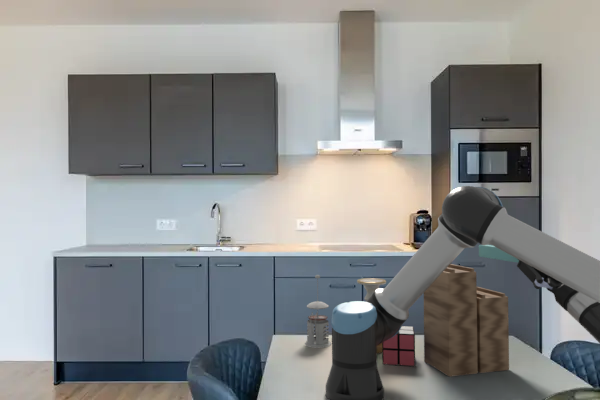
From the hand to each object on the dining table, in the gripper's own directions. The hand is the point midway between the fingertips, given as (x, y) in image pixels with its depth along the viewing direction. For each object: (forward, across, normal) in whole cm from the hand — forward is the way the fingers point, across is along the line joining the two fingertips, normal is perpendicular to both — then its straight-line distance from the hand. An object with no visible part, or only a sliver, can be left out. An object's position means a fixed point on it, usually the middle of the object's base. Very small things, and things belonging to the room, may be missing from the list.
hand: (517, 245), depth 129 cm
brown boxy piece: (-4, -5, -42) cm, 42 cm away
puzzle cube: (+4, -23, -47) cm, 53 cm away
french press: (+25, -43, -59) cm, 77 cm away
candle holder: (+16, -26, -54) cm, 62 cm away
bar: (+1, 0, -6) cm, 6 cm away
